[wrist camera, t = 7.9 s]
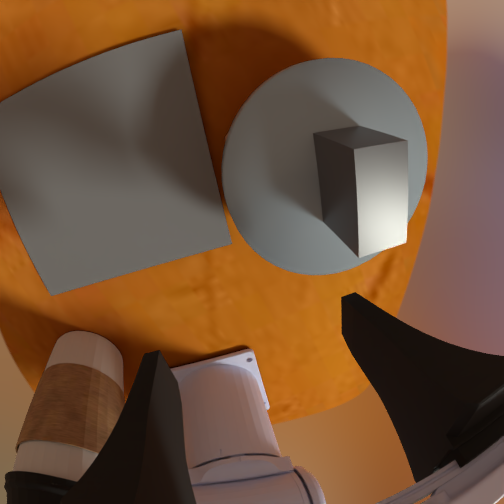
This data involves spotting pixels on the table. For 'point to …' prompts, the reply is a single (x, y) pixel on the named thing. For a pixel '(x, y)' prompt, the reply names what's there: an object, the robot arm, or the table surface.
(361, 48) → the table surface
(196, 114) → the mat
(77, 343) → the coffee cup
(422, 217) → the table surface
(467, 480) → the robot arm
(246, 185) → the lid
